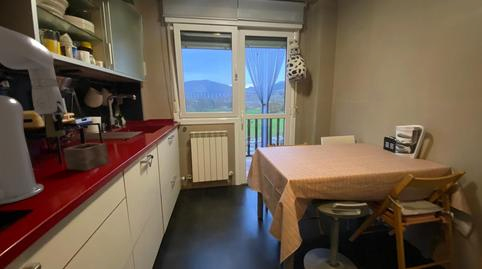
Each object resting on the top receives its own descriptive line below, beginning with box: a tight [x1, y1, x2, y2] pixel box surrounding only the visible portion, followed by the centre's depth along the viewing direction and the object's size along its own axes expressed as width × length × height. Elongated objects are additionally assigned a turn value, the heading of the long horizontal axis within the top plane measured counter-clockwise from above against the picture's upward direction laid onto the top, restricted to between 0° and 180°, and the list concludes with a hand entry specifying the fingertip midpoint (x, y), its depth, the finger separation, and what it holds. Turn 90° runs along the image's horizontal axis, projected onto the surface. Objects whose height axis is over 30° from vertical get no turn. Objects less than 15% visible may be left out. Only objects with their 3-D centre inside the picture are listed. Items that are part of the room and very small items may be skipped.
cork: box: [43, 111, 67, 138], centre depth 86 cm, size 6×6×11 cm
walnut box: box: [62, 142, 110, 172], centre depth 96 cm, size 11×11×9 cm
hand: (55, 130), depth 87 cm, fingers closed on cork, 4 cm apart
